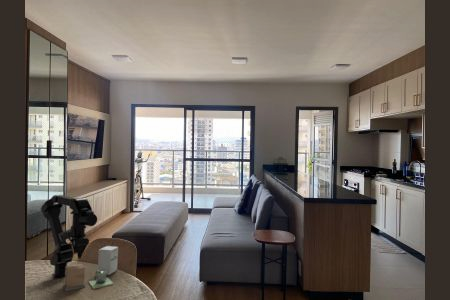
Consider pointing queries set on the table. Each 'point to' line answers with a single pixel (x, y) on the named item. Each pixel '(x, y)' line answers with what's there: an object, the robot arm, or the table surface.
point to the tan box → (74, 277)
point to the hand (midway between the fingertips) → (77, 255)
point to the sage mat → (94, 285)
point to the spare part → (100, 276)
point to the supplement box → (108, 259)
